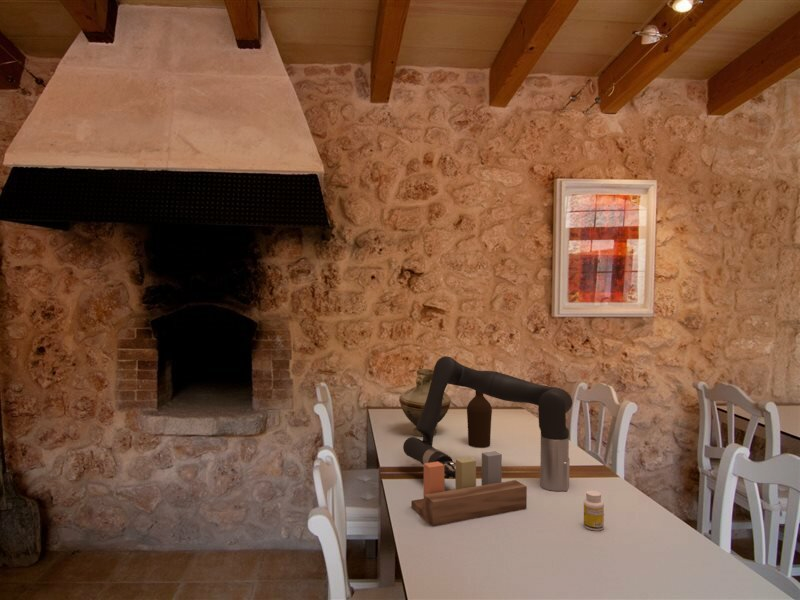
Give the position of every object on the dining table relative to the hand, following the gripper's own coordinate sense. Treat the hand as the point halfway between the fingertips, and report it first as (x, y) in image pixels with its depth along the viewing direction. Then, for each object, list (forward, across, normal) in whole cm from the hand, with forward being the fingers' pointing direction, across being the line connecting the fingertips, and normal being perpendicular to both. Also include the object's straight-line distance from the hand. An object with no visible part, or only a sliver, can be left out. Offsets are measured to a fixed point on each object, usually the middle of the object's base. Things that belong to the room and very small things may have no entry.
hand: (462, 478), depth 174 cm
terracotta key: (+2, -11, +6) cm, 13 cm away
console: (+4, 0, +8) cm, 9 cm away
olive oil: (-54, +39, +8) cm, 67 cm away
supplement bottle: (+30, +26, +8) cm, 40 cm away
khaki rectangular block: (+2, 0, +6) cm, 6 cm away
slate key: (0, +11, +6) cm, 12 cm away
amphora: (-79, +25, +8) cm, 83 cm away
